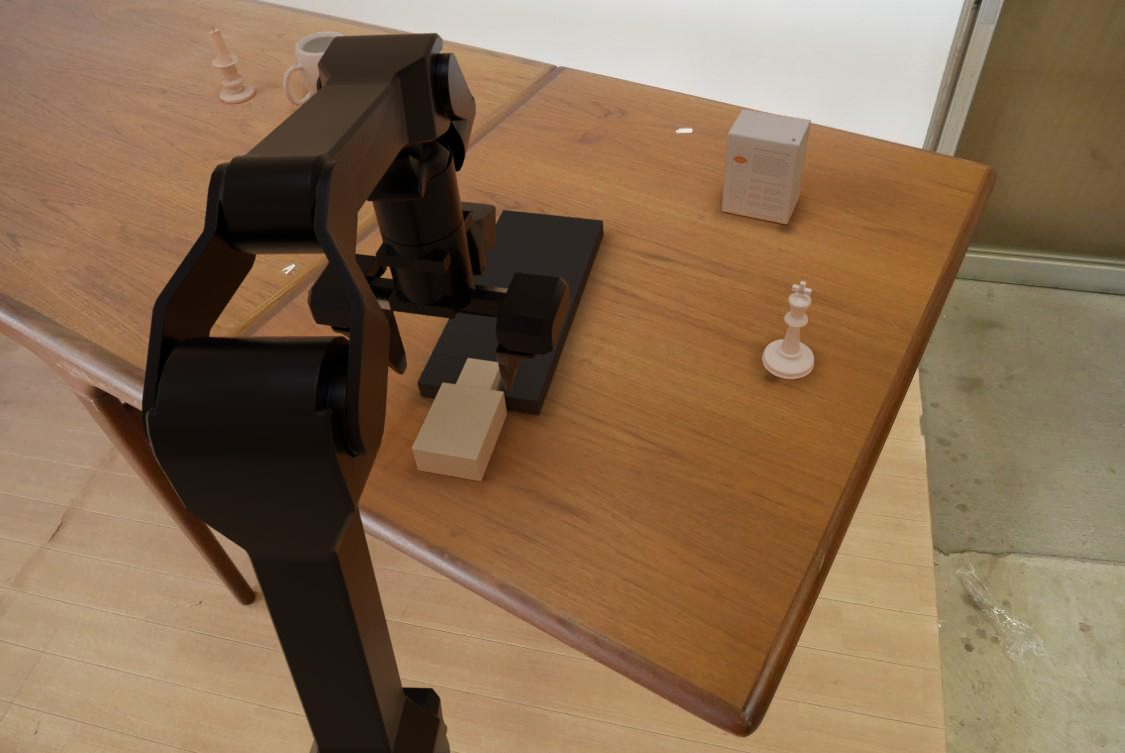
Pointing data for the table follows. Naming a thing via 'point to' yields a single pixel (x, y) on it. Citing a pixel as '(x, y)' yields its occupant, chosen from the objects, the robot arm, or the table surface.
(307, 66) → the mug
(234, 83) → the candle
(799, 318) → the chess piece
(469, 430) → the beige stepped block
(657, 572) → the table surface
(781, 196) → the small box
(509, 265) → the socket pad
